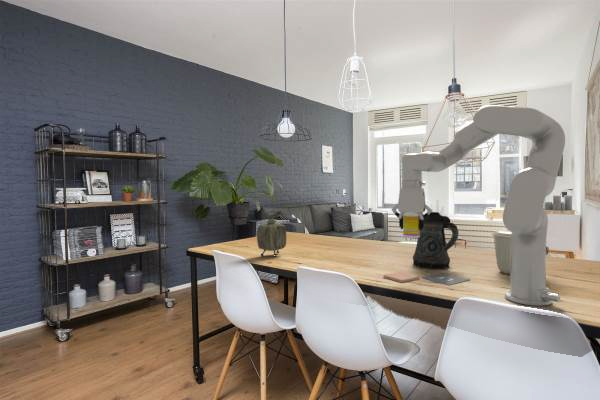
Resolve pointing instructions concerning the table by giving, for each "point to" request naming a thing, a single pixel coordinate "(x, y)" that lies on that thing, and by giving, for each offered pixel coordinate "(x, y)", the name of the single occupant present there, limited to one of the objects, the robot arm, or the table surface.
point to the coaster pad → (401, 277)
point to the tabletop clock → (271, 235)
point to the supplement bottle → (411, 225)
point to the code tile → (445, 279)
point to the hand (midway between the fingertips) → (411, 228)
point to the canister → (503, 249)
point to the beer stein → (434, 242)
